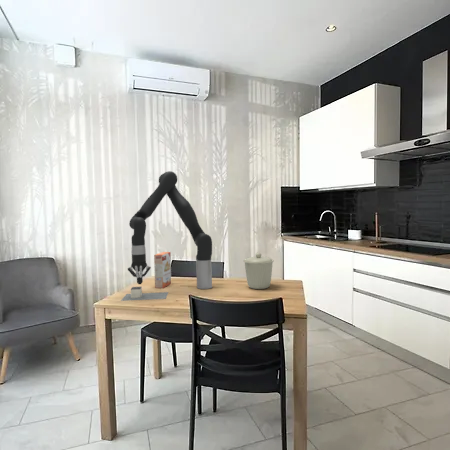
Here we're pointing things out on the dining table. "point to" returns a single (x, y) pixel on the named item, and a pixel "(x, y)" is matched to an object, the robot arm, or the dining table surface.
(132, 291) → the cube
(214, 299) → the dining table surface
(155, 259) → the cracker box
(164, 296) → the mat
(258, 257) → the canister
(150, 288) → the dining table surface
